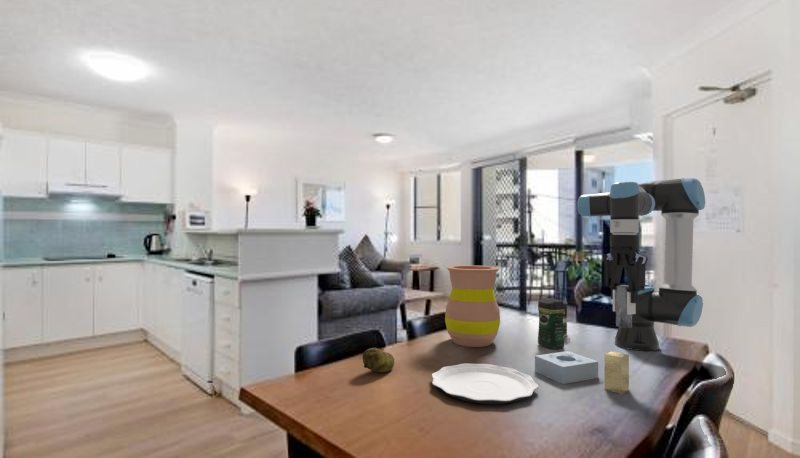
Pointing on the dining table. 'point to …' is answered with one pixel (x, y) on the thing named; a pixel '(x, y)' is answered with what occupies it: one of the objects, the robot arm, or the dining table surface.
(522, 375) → the plate
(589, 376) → the bore block
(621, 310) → the round bit
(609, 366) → the square bit
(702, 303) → the robot arm
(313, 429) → the dining table surface
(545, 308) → the coffee jar
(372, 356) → the potato
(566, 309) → the coffee can
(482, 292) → the vase
